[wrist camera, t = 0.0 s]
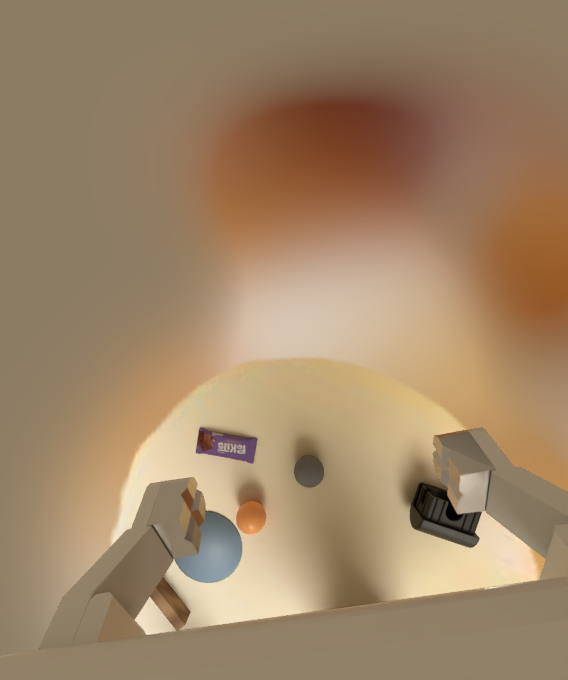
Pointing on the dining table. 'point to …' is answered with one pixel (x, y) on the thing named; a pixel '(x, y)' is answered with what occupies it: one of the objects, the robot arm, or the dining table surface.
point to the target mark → (214, 551)
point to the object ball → (251, 517)
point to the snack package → (226, 445)
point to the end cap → (442, 517)
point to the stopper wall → (170, 604)
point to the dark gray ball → (309, 471)
